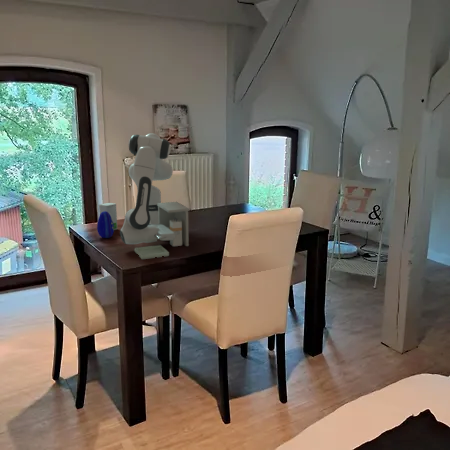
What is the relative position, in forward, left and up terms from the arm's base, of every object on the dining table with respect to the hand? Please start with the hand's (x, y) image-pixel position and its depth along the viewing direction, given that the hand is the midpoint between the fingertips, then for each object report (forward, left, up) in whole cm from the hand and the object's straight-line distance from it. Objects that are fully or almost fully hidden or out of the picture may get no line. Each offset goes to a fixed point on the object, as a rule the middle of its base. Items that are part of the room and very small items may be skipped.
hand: (177, 230), depth 259 cm
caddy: (-1, -1, -8) cm, 8 cm away
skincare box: (-49, +19, -8) cm, 53 cm away
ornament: (-43, +3, -8) cm, 44 cm away
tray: (-8, -19, -8) cm, 21 cm away
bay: (-3, +3, -7) cm, 9 cm away
